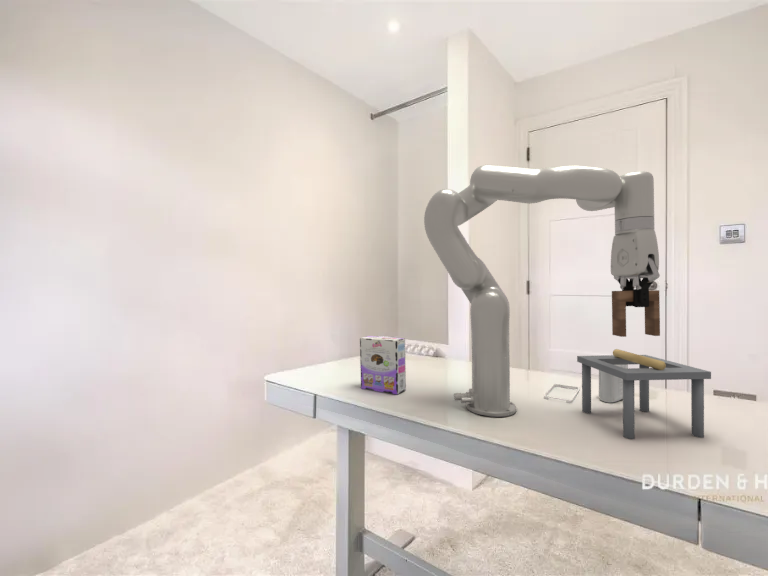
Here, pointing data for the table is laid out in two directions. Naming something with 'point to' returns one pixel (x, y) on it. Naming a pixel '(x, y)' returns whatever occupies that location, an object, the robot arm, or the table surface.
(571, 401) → the phone case
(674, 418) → the table surface
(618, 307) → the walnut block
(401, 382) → the candy box
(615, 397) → the photo printer
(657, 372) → the grey open-frame table
